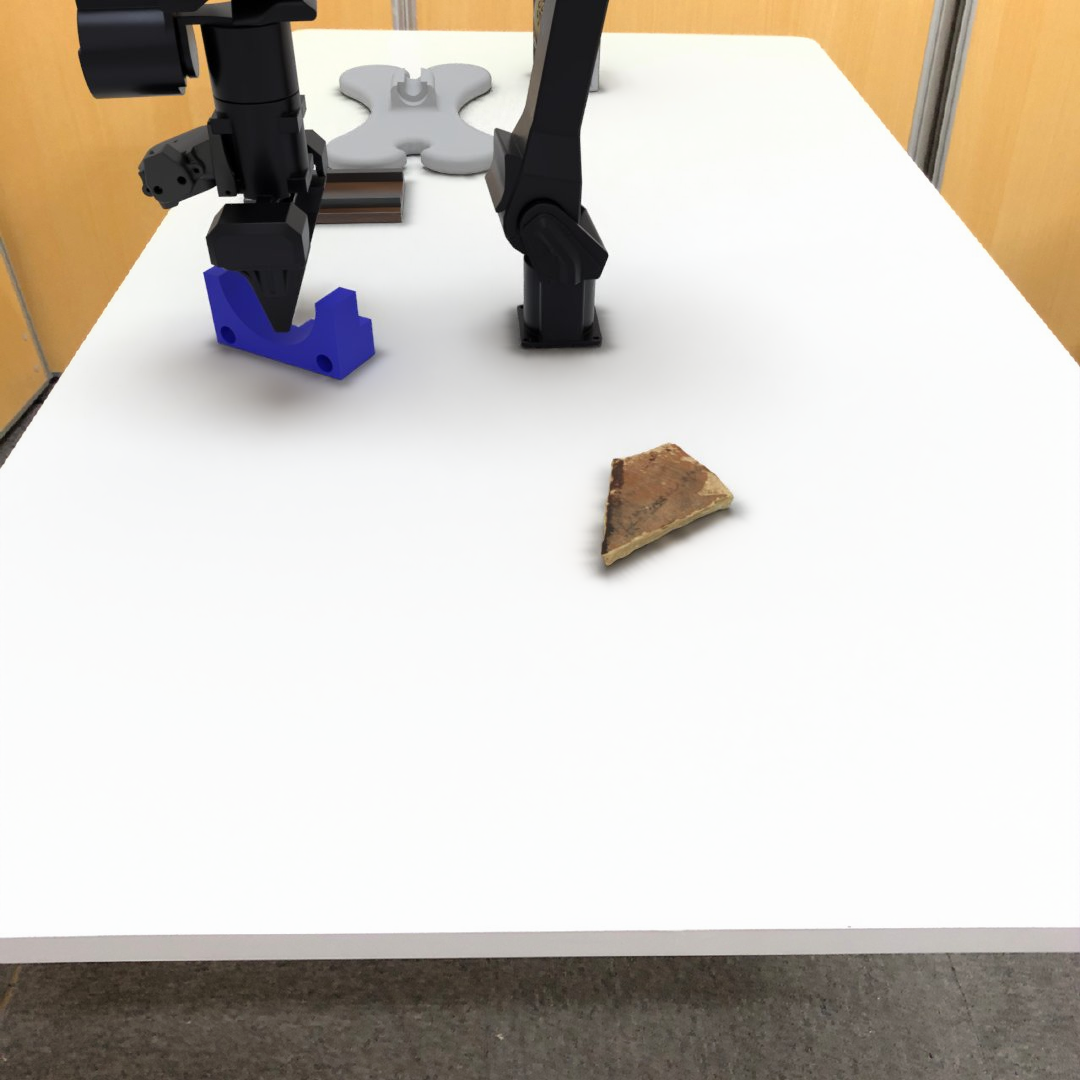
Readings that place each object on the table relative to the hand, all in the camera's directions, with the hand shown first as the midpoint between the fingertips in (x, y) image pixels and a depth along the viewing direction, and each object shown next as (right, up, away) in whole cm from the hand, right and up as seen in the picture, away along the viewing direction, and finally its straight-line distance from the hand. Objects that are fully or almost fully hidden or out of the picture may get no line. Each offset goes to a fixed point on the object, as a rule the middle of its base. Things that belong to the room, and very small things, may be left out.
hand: (289, 302), depth 81 cm
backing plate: (-2, +16, +25) cm, 29 cm away
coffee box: (+22, +41, +56) cm, 72 cm away
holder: (+5, +31, +43) cm, 53 cm away
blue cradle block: (0, -3, +3) cm, 4 cm away
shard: (+27, -17, -14) cm, 35 cm away
